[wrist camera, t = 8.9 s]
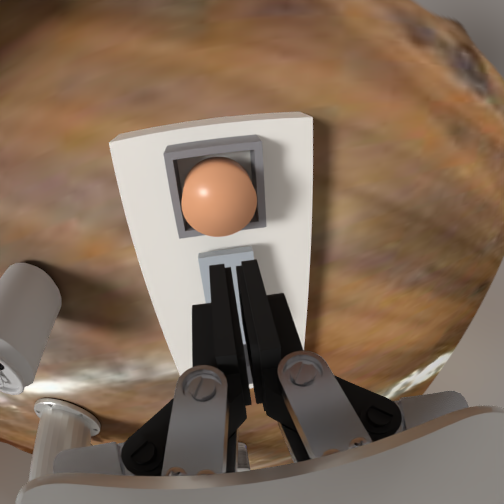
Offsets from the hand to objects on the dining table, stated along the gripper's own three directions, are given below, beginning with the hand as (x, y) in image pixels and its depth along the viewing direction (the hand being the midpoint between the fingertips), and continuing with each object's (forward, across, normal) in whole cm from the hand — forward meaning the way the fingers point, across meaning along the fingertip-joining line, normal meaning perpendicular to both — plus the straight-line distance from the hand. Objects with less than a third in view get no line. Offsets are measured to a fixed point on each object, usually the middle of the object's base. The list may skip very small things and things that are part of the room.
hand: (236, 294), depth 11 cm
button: (+10, 0, 0) cm, 10 cm away
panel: (+15, 0, +11) cm, 19 cm away
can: (+15, +21, +9) cm, 28 cm away
